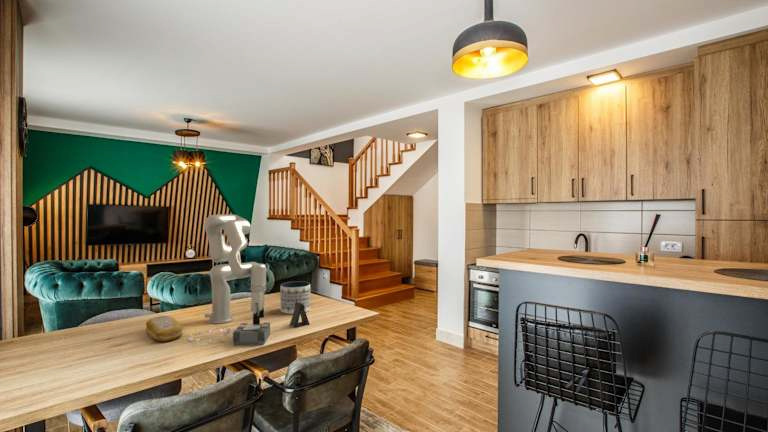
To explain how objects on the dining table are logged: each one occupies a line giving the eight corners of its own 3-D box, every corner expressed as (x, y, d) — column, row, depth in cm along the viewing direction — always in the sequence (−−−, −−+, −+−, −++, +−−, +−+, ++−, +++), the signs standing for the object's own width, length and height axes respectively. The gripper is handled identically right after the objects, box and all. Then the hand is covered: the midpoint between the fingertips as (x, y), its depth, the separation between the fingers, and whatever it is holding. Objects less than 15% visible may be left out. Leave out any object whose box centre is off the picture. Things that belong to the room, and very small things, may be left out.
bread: (169, 326, 198) (168, 311, 198) (189, 337, 181) (188, 321, 181) (140, 332, 188) (140, 317, 188) (158, 345, 171) (158, 328, 170)
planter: (283, 306, 237) (283, 281, 237) (311, 306, 239) (311, 281, 239) (278, 315, 219) (278, 287, 219) (309, 314, 221) (309, 287, 221)
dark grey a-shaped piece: (294, 327, 196) (293, 305, 196) (289, 324, 201) (289, 303, 200) (309, 324, 201) (309, 302, 201) (305, 321, 206) (305, 300, 206)
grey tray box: (235, 339, 173) (234, 328, 173) (240, 333, 182) (240, 322, 182) (265, 338, 175) (265, 327, 174) (269, 332, 183) (269, 322, 183)
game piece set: (229, 329, 195) (229, 321, 195) (231, 341, 177) (231, 333, 177) (188, 334, 186) (188, 326, 186) (186, 347, 168) (186, 339, 168)
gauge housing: (233, 345, 170) (233, 332, 170) (241, 335, 184) (241, 323, 184) (264, 344, 172) (264, 331, 172) (270, 334, 186) (270, 322, 185)
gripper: (255, 284, 199) (255, 315, 199) (246, 291, 181) (246, 326, 182) (269, 284, 199) (269, 315, 200) (262, 291, 182) (262, 325, 182)
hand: (258, 320), depth 191 cm, fingers open, 9 cm apart
